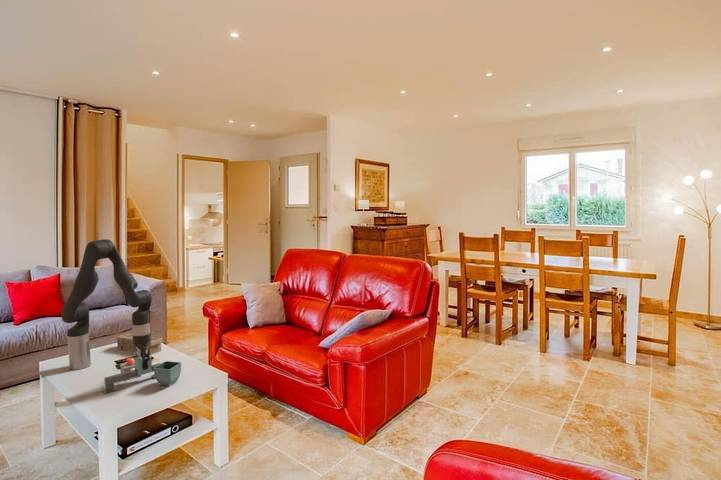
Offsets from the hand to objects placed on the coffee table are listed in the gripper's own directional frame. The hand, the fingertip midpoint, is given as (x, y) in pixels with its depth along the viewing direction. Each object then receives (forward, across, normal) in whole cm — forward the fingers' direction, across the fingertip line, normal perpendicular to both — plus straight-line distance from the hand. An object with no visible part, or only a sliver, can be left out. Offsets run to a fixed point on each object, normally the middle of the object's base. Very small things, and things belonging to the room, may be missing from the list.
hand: (143, 367), depth 196 cm
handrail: (+6, 0, -4) cm, 8 cm away
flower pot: (+7, +12, +7) cm, 15 cm away
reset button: (+2, -10, -3) cm, 11 cm away
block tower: (+7, -48, +11) cm, 50 cm away
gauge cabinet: (+6, -10, -3) cm, 12 cm away
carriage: (+2, 0, 0) cm, 2 cm away
